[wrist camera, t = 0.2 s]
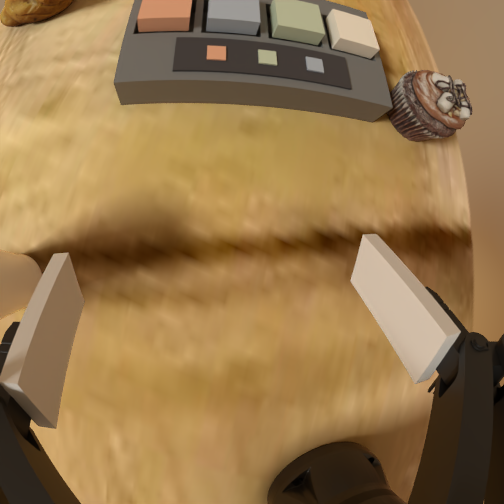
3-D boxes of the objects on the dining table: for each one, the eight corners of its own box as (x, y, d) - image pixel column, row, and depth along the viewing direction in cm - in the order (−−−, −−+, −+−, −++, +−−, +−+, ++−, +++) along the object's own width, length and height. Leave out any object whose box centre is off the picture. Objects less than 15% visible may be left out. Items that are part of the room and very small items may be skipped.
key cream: (370, 58, 30) (379, 49, 28) (332, 48, 29) (340, 37, 26) (362, 29, 30) (370, 20, 28) (325, 19, 29) (332, 8, 27)
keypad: (372, 122, 34) (395, 106, 29) (121, 104, 28) (112, 80, 23) (351, 30, 34) (367, 10, 30) (141, 6, 28) (139, -20, 23)
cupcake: (420, 90, 36) (464, 61, 27) (440, 150, 36) (490, 128, 27) (371, 81, 34) (415, 43, 25) (392, 147, 34) (446, 119, 25)
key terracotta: (188, 30, 25) (189, 17, 23) (138, 32, 24) (137, 18, 22) (192, 1, 25) (193, -12, 23) (146, 2, 24) (145, -11, 22)
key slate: (255, 35, 27) (260, 22, 25) (205, 31, 26) (208, 17, 23) (254, 6, 27) (258, -7, 25) (208, 2, 26) (210, -11, 24)
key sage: (317, 45, 28) (325, 34, 26) (272, 37, 27) (277, 24, 25) (311, 16, 28) (318, 5, 26) (269, 8, 27) (274, -4, 25)
